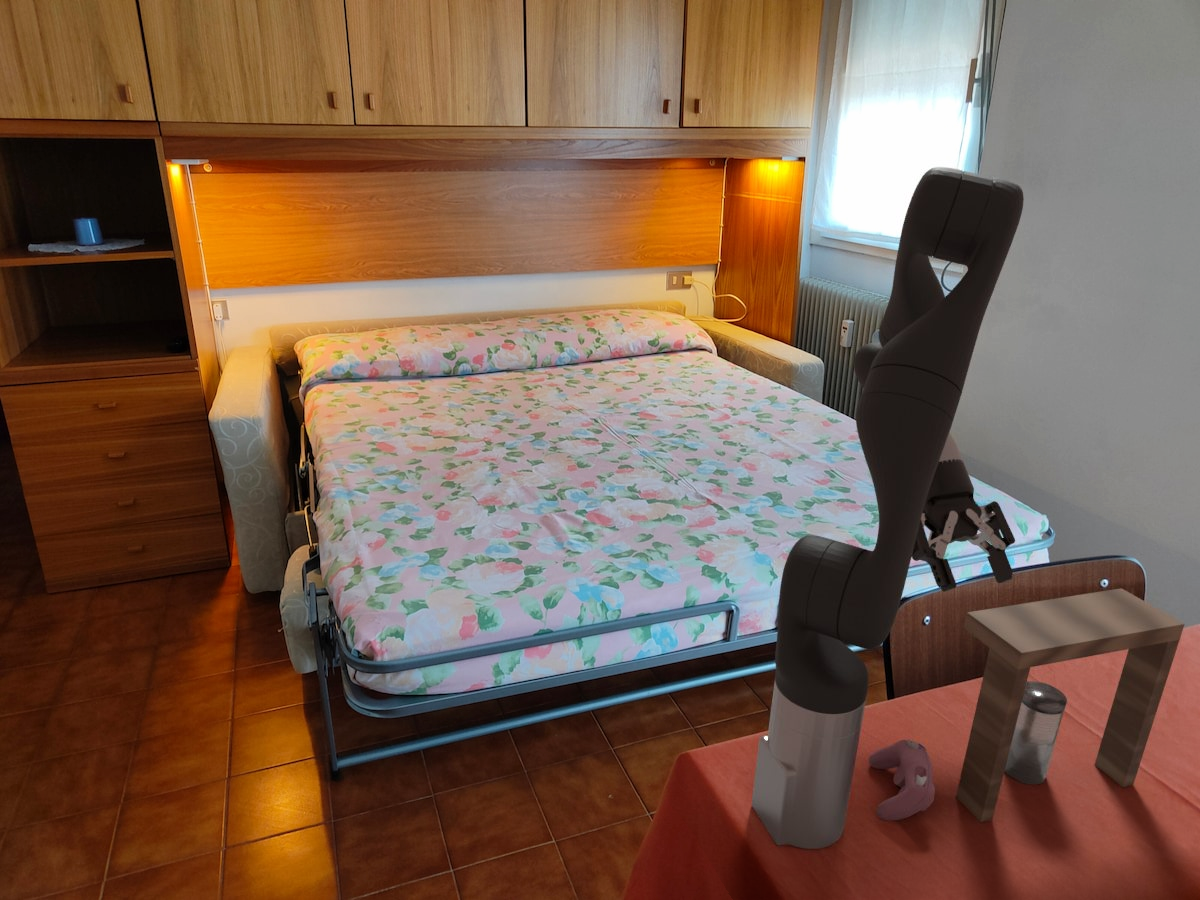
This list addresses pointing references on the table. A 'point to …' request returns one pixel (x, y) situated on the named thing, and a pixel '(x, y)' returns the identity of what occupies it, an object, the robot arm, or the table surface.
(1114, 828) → the table surface
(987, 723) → the walnut shelf
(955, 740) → the table surface
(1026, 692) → the salt shaker
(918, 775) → the video game controller
